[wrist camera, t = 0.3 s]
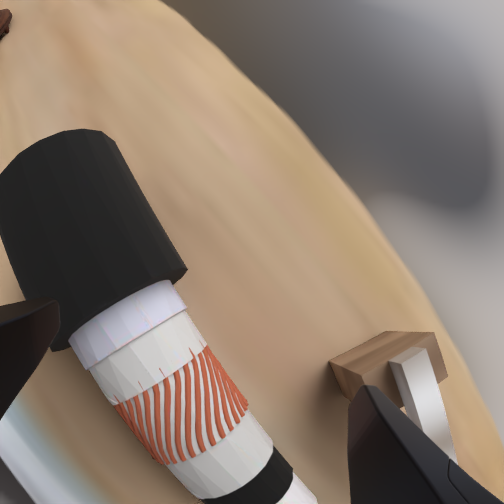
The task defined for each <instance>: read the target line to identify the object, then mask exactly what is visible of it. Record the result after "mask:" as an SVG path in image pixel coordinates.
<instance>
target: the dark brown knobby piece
mask: <svg viewBox="0 0 504 504" xmlns="http://www.w3.org/2000/svg"><path fill="white" fill-rule="evenodd" d="M11 19H12V13H11V12H10V10H9V9H3V10H0V35H1V34H2V33H3V32H5V33H8V32H9V27H8V24H9V23H10V21H11Z"/></svg>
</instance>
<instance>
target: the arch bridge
mask: <svg viewBox="0 0 504 504" xmlns="http://www.w3.org/2000/svg"><path fill="white" fill-rule="evenodd" d="M329 362H330V364H331V367H332V369H333V372H334V374H335V377H336V379H337V381H338V384H339V386H340V389H341V391H342V394H343V396H345V397H346V398H348V399H349V400H350V401H352V400H353V398H354V396H355V394H356V393H357V391H358V389H359V388H360V386H361V385H363V384H368V385H375V386H377V387H378V388H379V389H380V390H381V391H382V392H383V393H384V394H385V395H386V396H387V397H388V398H389V399H390V400H391V401H392V402H393V403H394V404H395V405H396V406H397V407H398V408H399V409H400V408H401V407H403V406H404V407H405V410H406V413H407V416H408V418H410V419H411V420H412V421H413V422H414V423H415V424H416V425H417V426H418V427H419V428H420V429H421V430H422V431H423V432H424V433H425V434H426V435H427V436H428V437H429V438H430V439H431V440H432V441H433V442H434V443H435V444H436V445H437V446H438V447H439V448H441V449H442V450H443V451H444V452H445V453H446V454H447V455H448V456H449V459H450V458H451V459H452V460H453V461H454V462H455V463H456V464H457V459H456V454H455V449H454V445H453V440H452V436H451V432H450V428H449V424H448V420H447V416H446V412H445V409H444V405H443V402H442V398H441V395H440V391H439V388H438V383H440V382H441V381H442V380H444V379H445V378H447V377H448V374H447V371H446V367H445V364H444V361H443V358H442V355H441V352H440V348H439V345H438V342H437V340H436V337H435V334H434V332H397V331H385V332H384V333H382V334H380V335H378V336H376V337H374V338H372V339H371V340H369V341H367V342H365V343H363V344H361V345H359V346H357V347H355V348H353V349H351V350H349V351H348V352H346V353H344V354H342V355H339V356H337V357H335V358H333V359H331V360H329ZM457 465H458V464H457Z"/></svg>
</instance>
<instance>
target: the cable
mask: <svg viewBox="0 0 504 504" xmlns="http://www.w3.org/2000/svg"><path fill="white" fill-rule="evenodd" d="M0 236H1V239H2V242H3V245H4V247H5V250H6V253H7V256H8V258H9V261H10V264H11V266H12V269H13V271H14V274H15V276H16V279H17V281H18V283H19V286H20V288H21V290H22V293H23V295H24V297H25V299H26V300H31V299H36V298H40V297H45V296H47V297H50V298H52V299H55V300H57V301H58V303H59V313H60V328H59V331H58V333H57V334H56V336H55V338H54V339H53V341H52V343H51V344H50V346H49V347H50V349H51V351H52V352H55V351H60V350H64V349H66V348H69V347H72V348H73V350H74V352H75V353H76V355H77V357H78V358H79V360H80V362H81V363H82V365H83V367H84V368H85V370H89V371H90V372H91V374H92V376H93V377H94V379H95V380H96V382H97V383H98V385H99V387H100V389H101V390H102V392H103V393H104V395H105V396H106V398H107V399H108V400H109V402H110V403H111V404H112V405H113V406H114V408H115V409H116V410H117V412H118V413H119V414H120V416H121V417H122V418H123V420H124V421H125V422H126V424H127V425H128V426H129V427H130V429H131V430H132V431H133V433H134V434H135V435H136V437H137V438H138V439H139V440H140V441H141V442H142V444H143V445H144V446H145V448H146V449H147V450H148V451H149V453H150V454H151V456H152V458H153V459H155V460H156V461H157V462H158V463H159V462H160V464H161V465H162V464H165V465H166V466H167V467H168V469H169V470H170V471H171V472H172V473H173V474H174V475H175V476H176V477H177V479H178V480H179V481H180V482H181V483H182V484H183V485H184V486H185V487H186V489H187V490H189V491H190V492H191V493H192V494H193V495H195V496H196V497H197V498H199V499H200V500H201V501H202V502H203V503H204V504H318V503H317V498H316V497H315V496H314V495H313V493H312V492H311V491H310V490H309V489H308V488H307V487H306V486H305V485H304V484H303V482H302V481H301V480H300V479H299V478H298V477H297V476H296V475H295V473H294V472H293V468H292V467H291V466H290V465H289V464H288V462H287V461H286V460H285V459H284V458H283V456H282V455H281V454H280V453H279V452H278V451H277V449H276V448H275V447H274V446H273V441H272V440H271V438H270V437H269V436H268V435H267V433H266V432H265V431H264V429H263V428H262V427H261V426H260V424H259V423H258V422H257V420H256V419H255V418H254V416H253V415H252V414H251V412H250V411H249V410H248V408H247V407H246V406H248V403H247V400H246V399H245V398H244V396H243V395H242V394H241V393H240V391H239V390H238V389H237V387H236V386H235V384H234V383H233V381H232V380H231V379H230V377H229V376H228V375H227V373H226V372H225V370H224V369H223V368H222V366H221V364H220V363H219V361H218V360H217V359H216V357H215V356H214V355H213V354H212V352H211V350H210V349H209V347H208V345H207V343H206V342H205V340H204V339H203V337H202V336H201V334H200V333H199V331H198V330H197V328H196V327H195V325H194V324H193V322H192V320H191V319H190V317H189V316H188V314H187V313H186V311H185V309H187V307H186V306H185V304H184V302H183V301H182V299H181V298H180V296H179V294H178V293H177V291H176V290H175V288H174V286H173V284H175V283H176V282H177V281H178V280H179V279H181V278H182V277H183V275H184V274H185V273H186V271H187V270H188V269H187V267H186V266H185V264H184V262H183V261H182V259H181V257H180V256H179V254H178V252H177V251H176V249H175V247H174V246H173V244H172V242H171V241H170V239H169V237H168V236H167V234H166V232H165V231H164V229H163V227H162V226H161V224H160V222H159V220H158V219H157V217H156V215H155V214H154V212H153V210H152V208H151V207H150V205H149V203H148V201H147V200H146V198H145V196H144V194H143V193H142V191H141V189H140V187H139V185H138V184H137V182H136V180H135V178H134V176H133V175H132V173H131V171H130V169H129V167H128V165H127V164H126V162H125V160H124V158H123V156H122V154H121V152H120V150H119V149H118V147H117V145H116V143H115V141H114V140H112V139H111V138H110V137H108V136H107V135H106V134H104V133H103V132H102V131H96V130H89V129H76V130H68V131H62V132H59V133H57V134H54V135H52V136H49V137H47V138H44V139H42V140H39V141H37V142H36V143H34V144H33V145H31V146H30V147H28V148H26V149H25V150H23V151H22V152H20V153H19V154H18V155H17V156H16V157H15V158H14V159H13V160H12V161H11V163H10V164H9V165H8V166H7V167H6V168H5V169H4V170H3V172H2V173H1V174H0Z"/></svg>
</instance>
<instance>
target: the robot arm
mask: <svg viewBox="0 0 504 504" xmlns="http://www.w3.org/2000/svg"><path fill="white" fill-rule="evenodd" d="M59 328H60V313H59V303H58V301H57V300H55V299H52V298H50V297H47V296H45V297H40V298H36V299H31V300H26V301H22V302H17V303H12V304H8V305H3V306H0V420H1V418H2V417H3V415H4V414H5V412H6V411H7V409H8V408H9V406H10V405H11V403H12V402H13V400H14V399H15V397H16V396H17V395H18V393H19V392H20V390H21V389H22V387H23V386H24V385H25V383H26V382H27V380H28V379H29V378H30V376H31V375H32V373H33V372H34V371H35V369H36V368H37V366H38V365H39V363H40V361H41V360H42V358H43V356H44V354H45V353H46V351H47V349H48V348H49V346H50V344H51V343H52V341H53V339H54V338H55V336H56V334H57V333H58V331H59ZM347 455H348V469H349V481H350V496H351V504H504V503H503V502H502V501H500V500H499V499H498V498H497V497H495V496H494V495H493V494H491V493H490V492H489V491H488V490H486V489H485V488H484V487H483V486H481V485H480V484H479V483H478V482H476V481H475V480H474V479H473V478H472V477H470V476H469V475H468V474H467V473H466V472H465V471H464V470H463V469H461V468H460V467H459V466H458V465H457V464H456V463H455V462H454V461H453V460H452V459H451V458H450V459H449V456H448V455H447V454H446V453H445V452H444V451H443V450H442V449H441V448H439V447H438V446H437V445H436V444H435V443H434V442H433V441H432V440H431V439H430V438H429V437H428V436H427V435H426V434H425V433H424V432H423V431H422V430H421V429H420V428H419V427H418V426H417V425H416V424H415V423H414V422H413V421H412V420H411V419H410V418H408V417H407V416H406V415H405V414H404V413H403V412H402V411H401V410H400V409H399V408H398V407H397V406H396V405H395V404H394V403H393V402H392V401H391V400H390V399H389V398H388V397H387V396H386V395H385V394H384V393H383V392H382V391H381V390H380V389H379V388H378V387H377V386H375V385H368V384H363V385H361V386H360V388H359V389H358V391H357V393H356V394H355V396H354V398H353V400H352V401H351V403H350V405H349V409H348V447H347Z"/></svg>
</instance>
